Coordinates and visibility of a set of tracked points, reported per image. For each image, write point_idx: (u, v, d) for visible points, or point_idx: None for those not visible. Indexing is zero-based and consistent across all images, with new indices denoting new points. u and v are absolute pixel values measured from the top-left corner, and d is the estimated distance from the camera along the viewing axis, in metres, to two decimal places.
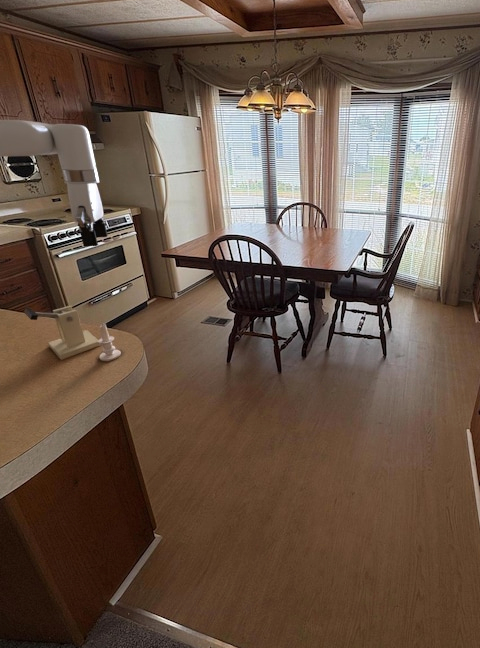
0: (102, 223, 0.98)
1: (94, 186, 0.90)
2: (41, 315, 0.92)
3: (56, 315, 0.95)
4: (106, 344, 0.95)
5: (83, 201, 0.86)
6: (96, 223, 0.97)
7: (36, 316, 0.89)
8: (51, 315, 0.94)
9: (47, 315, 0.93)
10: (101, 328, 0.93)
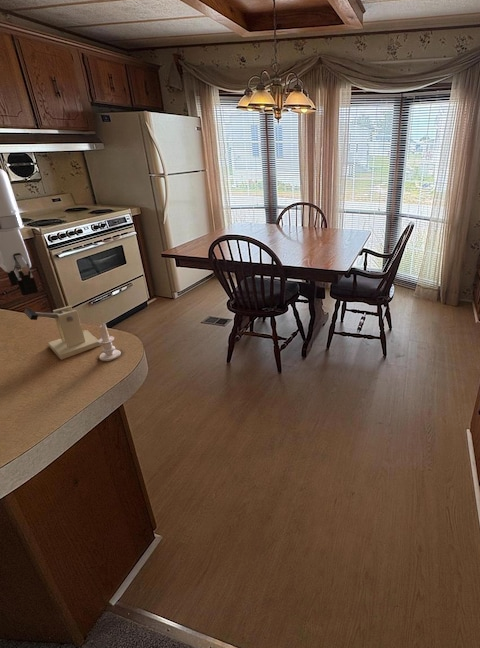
0: None
1: None
2: (41, 315, 0.92)
3: (56, 315, 0.95)
4: (106, 344, 0.95)
5: (18, 248, 0.81)
6: (13, 270, 0.89)
7: (36, 316, 0.89)
8: (51, 315, 0.94)
9: (47, 315, 0.93)
10: (101, 328, 0.93)
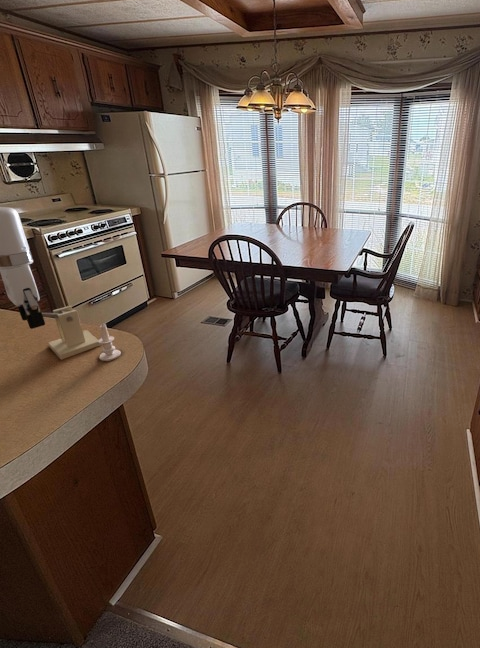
0: None
1: None
2: None
3: (56, 315, 0.95)
4: (106, 344, 0.95)
5: (28, 283, 0.84)
6: None
7: None
8: (51, 315, 0.94)
9: (47, 315, 0.93)
10: (101, 328, 0.93)
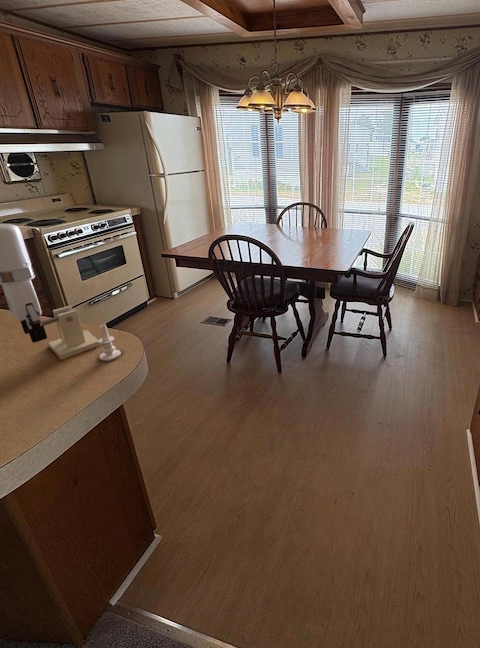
0: None
1: None
2: None
3: (56, 319, 0.95)
4: (106, 344, 0.95)
5: (30, 298, 0.86)
6: None
7: None
8: (51, 321, 0.94)
9: (47, 322, 0.93)
10: (101, 328, 0.93)
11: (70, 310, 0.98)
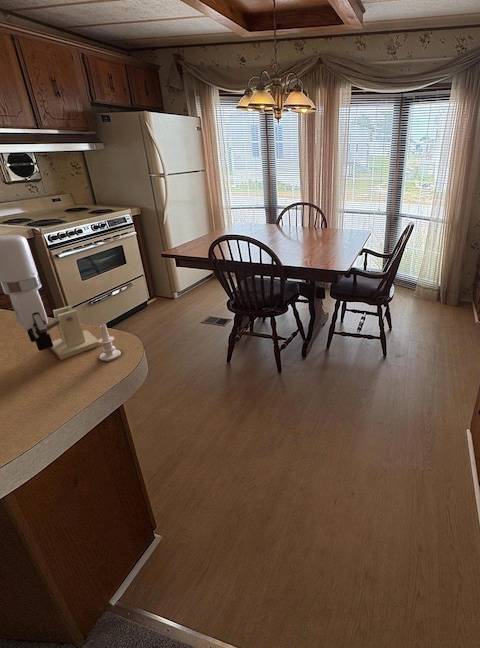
0: None
1: None
2: None
3: (57, 322, 0.95)
4: (106, 344, 0.95)
5: (37, 307, 0.87)
6: None
7: None
8: (53, 324, 0.95)
9: (50, 327, 0.94)
10: (101, 328, 0.93)
11: None
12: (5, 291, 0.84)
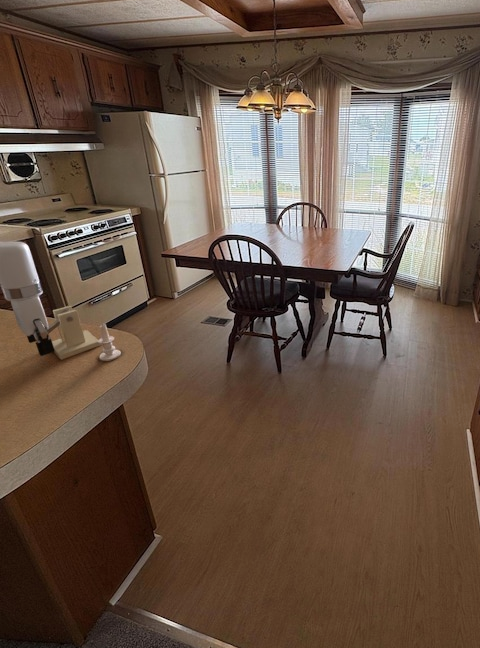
0: None
1: None
2: None
3: (58, 322, 0.95)
4: (106, 344, 0.95)
5: (38, 314, 0.88)
6: None
7: None
8: (54, 326, 0.95)
9: (52, 328, 0.95)
10: (101, 328, 0.93)
11: None
12: (6, 297, 0.85)
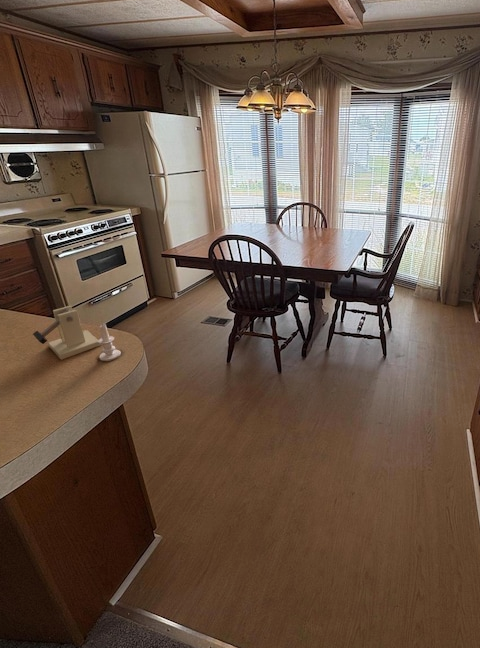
0: None
1: None
2: (47, 332, 0.94)
3: (58, 322, 0.95)
4: (106, 344, 0.95)
5: None
6: None
7: (43, 339, 0.92)
8: (54, 326, 0.95)
9: (52, 328, 0.95)
10: (101, 328, 0.93)
11: None
12: None
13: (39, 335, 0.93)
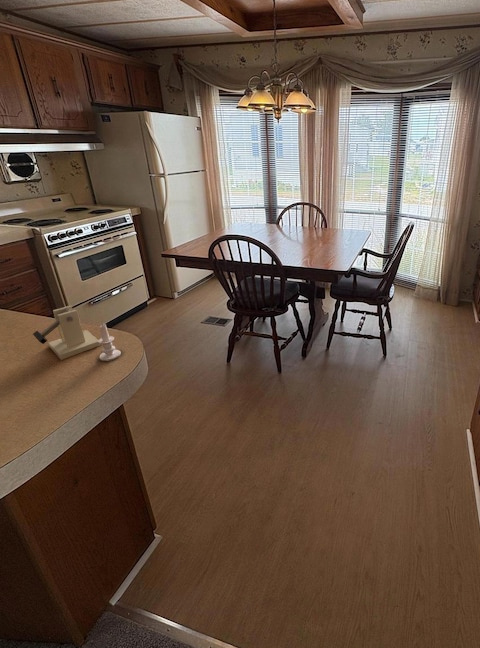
0: None
1: None
2: (47, 332, 0.94)
3: (58, 322, 0.95)
4: (106, 344, 0.95)
5: None
6: None
7: (43, 339, 0.92)
8: (54, 326, 0.95)
9: (52, 328, 0.95)
10: (101, 328, 0.93)
11: None
12: None
13: (39, 335, 0.93)
